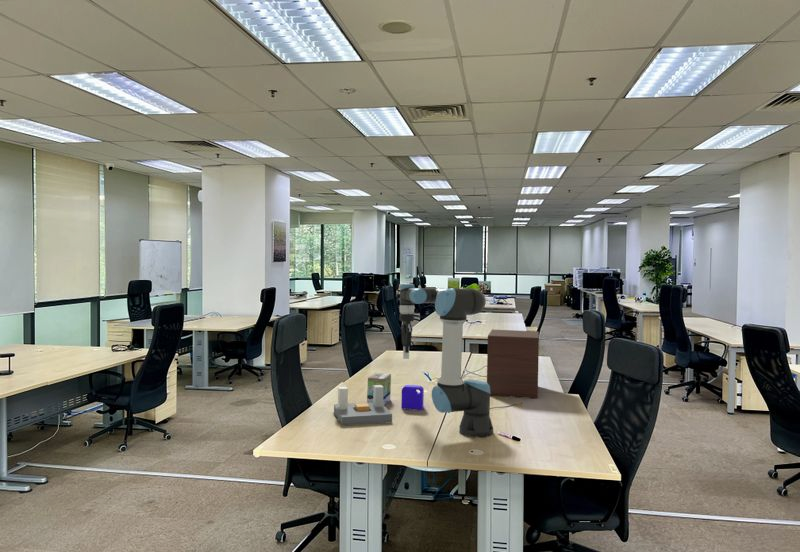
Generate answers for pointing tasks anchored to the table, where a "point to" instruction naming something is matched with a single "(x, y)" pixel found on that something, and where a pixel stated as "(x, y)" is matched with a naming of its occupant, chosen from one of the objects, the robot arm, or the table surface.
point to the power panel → (362, 415)
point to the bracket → (412, 397)
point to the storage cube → (513, 363)
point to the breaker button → (362, 407)
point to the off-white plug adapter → (342, 397)
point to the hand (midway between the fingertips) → (406, 358)
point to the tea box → (379, 380)
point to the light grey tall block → (378, 395)
